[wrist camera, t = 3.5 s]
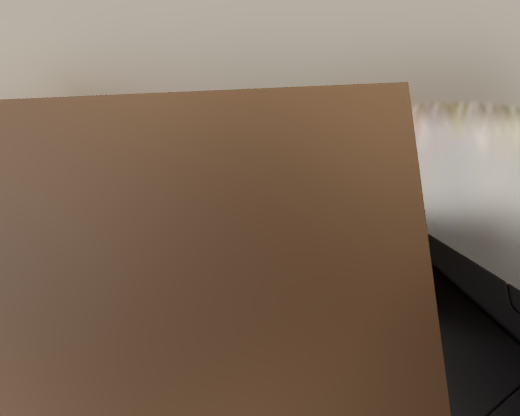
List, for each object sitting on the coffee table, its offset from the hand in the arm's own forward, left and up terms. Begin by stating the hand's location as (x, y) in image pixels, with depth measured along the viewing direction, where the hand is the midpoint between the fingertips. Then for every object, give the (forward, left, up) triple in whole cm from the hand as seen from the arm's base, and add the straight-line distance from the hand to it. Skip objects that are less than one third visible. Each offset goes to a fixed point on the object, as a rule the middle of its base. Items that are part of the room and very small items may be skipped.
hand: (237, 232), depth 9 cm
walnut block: (-1, +1, -7) cm, 7 cm away
